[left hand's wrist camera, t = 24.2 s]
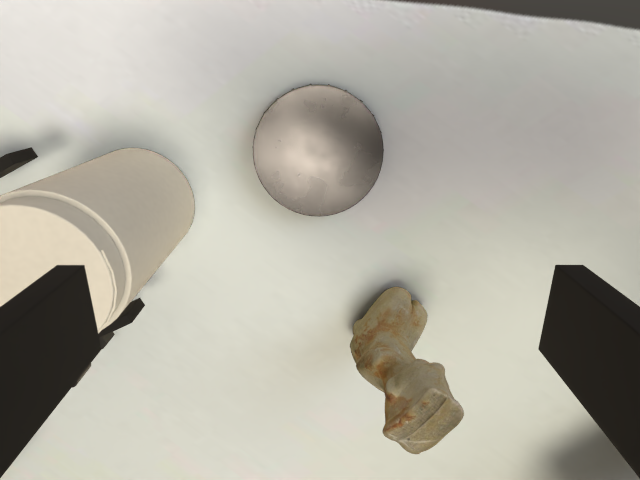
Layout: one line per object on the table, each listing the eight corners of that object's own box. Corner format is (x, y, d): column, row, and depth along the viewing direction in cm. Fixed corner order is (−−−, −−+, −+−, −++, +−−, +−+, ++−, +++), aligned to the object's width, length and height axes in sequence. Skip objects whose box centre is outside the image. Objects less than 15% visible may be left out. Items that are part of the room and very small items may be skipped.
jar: (114, 263, 41) (-1, 371, 26) (66, 165, 38) (-96, 225, 23) (210, 236, 40) (147, 333, 25) (169, 134, 37) (69, 176, 22)
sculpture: (433, 311, 42) (489, 430, 28) (377, 356, 44) (403, 490, 30) (392, 271, 41) (430, 376, 27) (335, 320, 43) (343, 442, 29)
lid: (405, 124, 36) (409, 127, 35) (341, 230, 40) (342, 238, 38) (291, 58, 35) (290, 57, 33) (234, 174, 38) (230, 180, 36)
